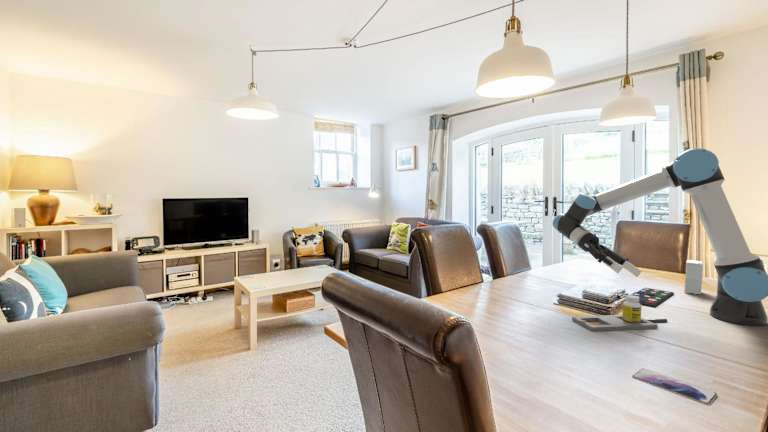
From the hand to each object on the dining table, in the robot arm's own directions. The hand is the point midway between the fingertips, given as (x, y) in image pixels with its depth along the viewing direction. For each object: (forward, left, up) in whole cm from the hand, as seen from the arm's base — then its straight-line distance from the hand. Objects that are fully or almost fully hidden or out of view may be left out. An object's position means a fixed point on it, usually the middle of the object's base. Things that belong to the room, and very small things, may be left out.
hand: (630, 272), depth 130 cm
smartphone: (-30, +41, -18) cm, 54 cm away
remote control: (+10, -38, -19) cm, 44 cm away
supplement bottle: (-3, +3, -18) cm, 18 cm away
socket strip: (-1, +6, -18) cm, 19 cm away
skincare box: (+4, -65, -18) cm, 68 cm away
